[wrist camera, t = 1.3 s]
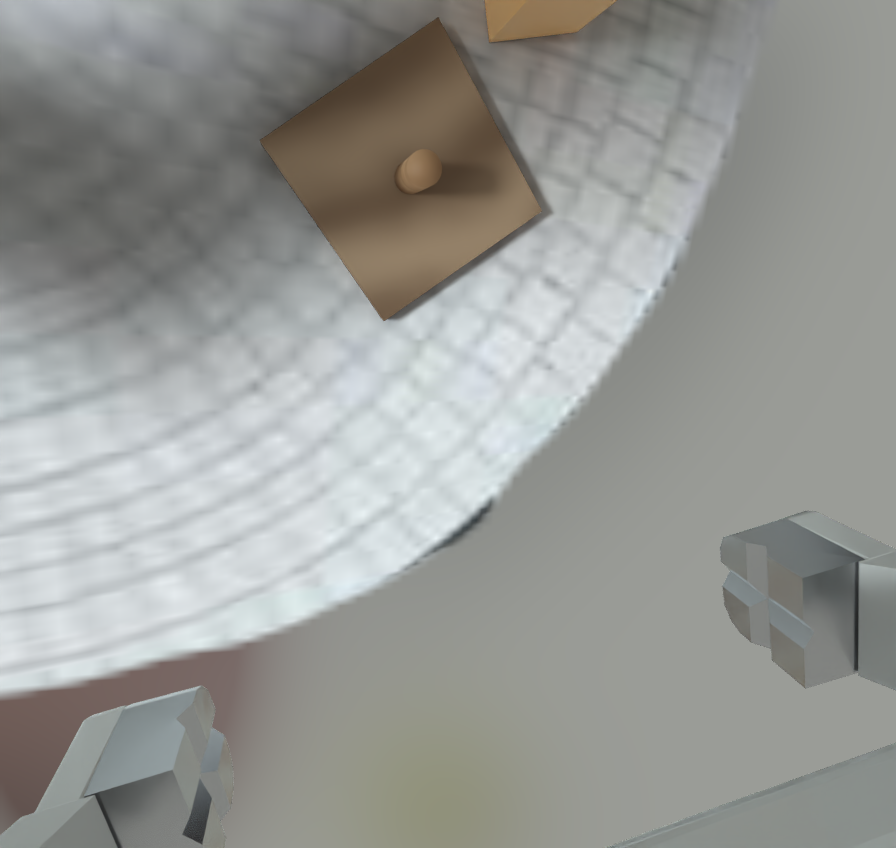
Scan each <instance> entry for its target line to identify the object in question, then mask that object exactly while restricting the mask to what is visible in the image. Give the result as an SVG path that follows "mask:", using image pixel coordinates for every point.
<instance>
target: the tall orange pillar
mask: <svg viewBox="0 0 896 848" xmlns="http://www.w3.org/2000/svg"><path fill="white" fill-rule="evenodd" d="M616 1H617V0H485V9H486V18H487V26H488V35H489V43H490V42H498V41H507V40H515V39H524V38H532V37H541V36H549V35H557V34H566V33H574V32H578V31H579V30H580V29H582V28H583V27H584V26H585V25H587V24H588V23H589V22H591V21H592V20H593V19H594V18H596V17H597V16H598V15H599V14H601V13H602V12H603V11H605V10H606V9H607V8H608V7H610V6H611V5H612V4H613V3H615V2H616Z"/></svg>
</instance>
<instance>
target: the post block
mask: <svg viewBox="0 0 896 848" xmlns="http://www.w3.org/2000/svg"><path fill="white" fill-rule="evenodd" d="M260 142H261V144H262V146H263V147H264V148H265V150H266V151H267V153H268V154H269V156H270V157H271V159H272V160H273V162H274V163H275V164H276V166H277V167H278V169H279V170H280V172H281V173H282V175H283V176H284V178H285V179H286V180H287V182H288V183H289V185H290V186H291V188H292V189H293V191H294V192H295V193H296V195H297V196H298V198H299V199H300V201H301V202H302V204H303V205H304V207H305V208H306V209H307V211H308V212H309V214H310V215H311V217H312V218H313V220H314V221H315V223H316V224H317V225H318V227H319V228H320V230H321V231H322V233H323V234H324V236H325V237H326V239H327V240H328V241H329V243H330V244H331V246H332V247H333V249H334V250H335V252H336V253H337V254H338V256H339V257H340V259H341V260H342V262H343V263H344V265H345V266H346V268H347V269H348V270H349V272H350V273H351V275H352V276H353V278H354V279H355V281H356V282H357V284H358V285H359V286H360V288H361V289H362V291H363V292H364V294H365V295H366V297H367V298H368V300H369V301H370V302H371V304H372V305H373V307H374V308H375V310H376V311H377V313H378V314H379V315H380V317H381V318H382V320H383V321H385V320H387V319H388V318H389V317H391V316H392V315H394V314H395V313H397V312H398V311H400V310H401V309H402V308H404V307H405V306H407V305H408V304H410V303H411V302H412V301H414V300H415V299H417V298H418V297H420V296H421V295H423V294H424V293H425V292H427V291H428V290H430V289H431V288H433V287H434V286H435V285H437V284H438V283H440V282H441V281H443V280H444V279H445V278H447V277H448V276H450V275H451V274H453V273H454V272H456V271H457V270H458V269H460V268H461V267H463V266H464V265H466V264H467V263H468V262H470V261H471V260H473V259H474V258H476V257H477V256H478V255H480V254H481V253H483V252H484V251H486V250H487V249H489V248H490V247H491V246H493V245H494V244H496V243H497V242H499V241H500V240H501V239H503V238H504V237H506V236H507V235H509V234H510V233H511V232H513V231H514V230H516V229H517V228H519V227H520V226H522V225H523V224H524V223H526V222H527V221H529V220H530V219H532V218H533V217H534V216H536V215H537V214H539V213H540V212H542V210H541V208H540V206H539V204H538V202H537V201H536V199H535V197H534V195H533V193H532V191H531V189H530V187H529V186H528V184H527V182H526V180H525V178H524V176H523V174H522V173H521V171H520V169H519V167H518V165H517V163H516V161H515V159H514V158H513V156H512V154H511V152H510V150H509V148H508V146H507V145H506V143H505V141H504V139H503V137H502V135H501V133H500V131H499V130H498V128H497V126H496V124H495V122H494V120H493V118H492V117H491V115H490V113H489V111H488V109H487V107H486V105H485V103H484V102H483V100H482V98H481V96H480V94H479V92H478V90H477V88H476V87H475V85H474V83H473V81H472V79H471V77H470V75H469V74H468V72H467V70H466V68H465V66H464V64H463V62H462V60H461V59H460V57H459V55H458V53H457V51H456V49H455V47H454V46H453V44H452V42H451V40H450V38H449V36H448V34H447V32H446V31H445V29H444V27H443V25H442V23H441V21H440V19H439V17H438V18H436V19H435V20H433V21H432V22H431V23H429V24H428V25H426V26H425V27H423V28H422V29H420V30H419V31H418V32H416V33H415V34H413V35H412V36H410V37H409V38H407V39H406V40H404V41H403V42H402V43H400V44H399V45H397V46H396V47H394V48H393V49H391V50H390V51H389V52H387V53H386V54H384V55H383V56H381V57H380V58H378V59H377V60H375V61H374V62H373V63H371V64H370V65H368V66H367V67H365V68H364V69H362V70H361V71H360V72H358V73H357V74H355V75H354V76H352V77H351V78H349V79H348V80H346V81H345V82H344V83H342V84H341V85H339V86H338V87H336V88H335V89H333V90H332V91H331V92H329V93H328V94H326V95H325V96H323V97H322V98H320V99H319V100H317V101H316V102H315V103H313V104H312V105H310V106H309V107H307V108H306V109H304V110H303V111H302V112H300V113H299V114H297V115H296V116H294V117H293V118H291V119H290V120H289V121H287V122H286V123H284V124H283V125H281V126H280V127H278V128H277V129H275V130H274V131H273V132H271V133H270V134H268V135H267V136H265V137H264V138H262V139H261V140H260Z"/></svg>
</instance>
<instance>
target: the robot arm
mask: <svg viewBox="0 0 896 848" xmlns="http://www.w3.org/2000/svg"><path fill="white" fill-rule="evenodd" d="M720 555H721V556H720V557H721V562H722V563H723V564H724V565H725V566H726V567H727V568H728V569H729V571H730V572H729V574H728V576H727V578H726V580H725V582H724V584H723V586H722V587H723V596H724V605H725V607H726V610H727V611H728V614H729V617H730V619H731V621H732V623H733V624H734V625H735V627H736V628H737V629H738V631H739V632H740V633H741V634H742V635H743V636H744V637H746V639H748V640H749V641H750V642H751V643H754V644H757V645H760V646H764V647H767V648H770V649H771V657H772V661H773V662H775V663H776V664H777V665H778V666H779V667H780V668H782V669H783V670H784V671H785V672H786V673H787V674H789V675H790V676H791V677H792V678H794V679H795V680H796V681H797V682H798V683H799V684H801V685H802V686H803V687H804V688H809V687H812V686H816V685H819V684H822V683H826V682H829V681H832V680H836V679H839V678H842V677H846V676H849V675H852V674H855V673H858V676H861V677H863V678H865V679H868V680H871V681H873V682H876V683H878V684H881V685H883V686H886V687H888V688H891V689H893V690H896V549H895V548H893V547H891V546H889V545H886V544H884V543H882V542H880V541H878V540H876V539H874V538H871V537H869V536H867V535H865V534H863V533H861V532H859V531H857V530H855V529H852V528H850V527H848V526H846V525H844V524H842V523H840V522H838V521H835V520H833V519H831V518H829V517H827V516H825V515H823V514H821V513H819V512H816V511H804V512H801V513H797V514H794V515H791V516H788V517H785V518H782V519H779V520H777V521H774V522H771V523H768V524H765V525H761V526H758V527H755V528H752V529H749V530H745V531H742V532H739V533H736V534H732V535H729V536H726V537H723V539H722V543H721V546H720ZM214 714H215V707H214V704H213V702H212V699H211V697H210V694H209V692H208V690H207V689H206V688H204V687H203V686H198V687H194V688H190V689H187V690H183V691H179V692H175V693H172V694H168V695H164V696H161V697H156V698H153V699H149V700H146V701H141V702H138V703H134V704H130V705H129V706H122V707H118V708H115V709H112V710H108V711H105V712H102V713H98V714H95V715H92V716H91V717H89V718H87V719H85V720H84V721H83V723H82V725H81V727H80V728H79V730H78V732H77V734H76V736H75V738H74V740H73V742H72V743H71V746H70V747H69V749H68V751H67V753H66V755H65V757H64V759H63V760H62V762H61V764H60V766H59V768H58V770H57V772H56V773H55V776H54V777H53V779H52V781H51V783H50V785H49V787H48V789H47V791H46V792H45V794H44V796H43V798H42V800H41V802H40V804H39V805H38V808H37V809H36V811H35V813H33V814H30V815H27V816H23V817H21V818H20V819H18V821H16V822H15V823H14V824H13V825H12V826H10V827H9V828H8V829H7V830H6V831H5V832H4V833H3V834H1V835H0V848H224V847H225V841H226V836H225V833H224V830H223V828H222V825H221V822H220V821H221V820H222V819H223V818H224V816H225V815H226V814H227V812H228V811H229V810H230V809H231V804H232V797H233V790H234V787H233V766H232V760H231V755H230V751H229V747H228V744H227V741H226V739H225V735H223V734H222V733H220V732H218V731H217V730H215V729H213V728H212V722H213V718H214ZM604 848H896V743H894V744H891V745H888V746H885V747H883V748H880V749H877V750H874V751H871V752H869V753H866V754H863V755H860V756H857V757H855V758H852V759H849V760H846V761H844V762H841V763H838V764H835V765H832V766H830V767H827V768H824V769H821V770H818V771H816V772H813V773H810V774H807V775H804V776H802V777H799V778H796V779H793V780H790V781H788V782H785V783H782V784H779V785H777V786H774V787H771V788H768V789H765V790H763V791H760V792H757V793H754V794H751V795H748V796H746V797H743V798H740V799H737V800H735V801H732V802H729V803H726V804H723V805H720V806H718V807H715V808H712V809H709V810H707V811H704V812H701V813H698V814H696V815H693V816H690V817H687V818H685V819H682V820H679V821H676V822H674V823H671V824H668V825H665V826H662V827H660V828H657V829H654V830H652V831H649V832H646V833H643V834H640V835H637V836H635V837H632V838H629V839H626V840H624V841H621V842H618V843H615V844H613V845H610V846H607V847H604Z"/></svg>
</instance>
